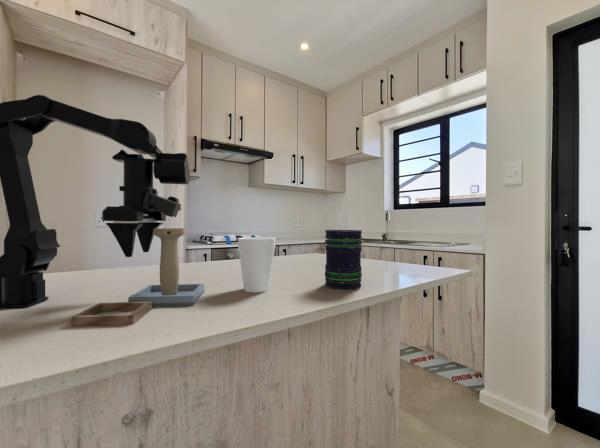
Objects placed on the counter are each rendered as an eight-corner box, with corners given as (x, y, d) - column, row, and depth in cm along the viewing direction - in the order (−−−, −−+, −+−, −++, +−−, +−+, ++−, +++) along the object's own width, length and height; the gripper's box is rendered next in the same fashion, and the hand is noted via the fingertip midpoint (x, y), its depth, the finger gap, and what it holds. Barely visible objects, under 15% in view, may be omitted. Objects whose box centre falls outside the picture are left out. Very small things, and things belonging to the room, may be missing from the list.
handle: (154, 294, 68) (154, 228, 68) (184, 292, 70) (184, 228, 70) (152, 300, 63) (152, 228, 63) (185, 297, 66) (185, 228, 66)
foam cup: (278, 286, 80) (278, 237, 80) (271, 294, 71) (271, 239, 71) (243, 285, 81) (243, 237, 81) (232, 293, 72) (232, 239, 72)
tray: (128, 307, 60) (128, 297, 60) (149, 293, 72) (149, 284, 72) (193, 305, 62) (193, 295, 62) (204, 291, 73) (204, 283, 73)
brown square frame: (71, 326, 49) (71, 317, 49) (99, 310, 58) (99, 302, 58) (133, 324, 51) (133, 315, 51) (151, 309, 59) (151, 301, 59)
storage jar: (367, 289, 77) (368, 231, 77) (331, 290, 75) (331, 231, 75) (353, 281, 87) (353, 229, 87) (320, 282, 85) (320, 229, 85)
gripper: (163, 178, 57) (163, 260, 58) (187, 188, 76) (186, 250, 76) (100, 176, 56) (100, 260, 56) (140, 187, 75) (140, 250, 75)
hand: (138, 254), depth 66 cm, fingers open, 9 cm apart
